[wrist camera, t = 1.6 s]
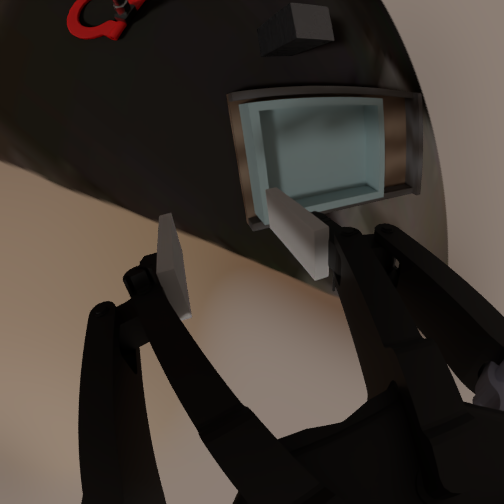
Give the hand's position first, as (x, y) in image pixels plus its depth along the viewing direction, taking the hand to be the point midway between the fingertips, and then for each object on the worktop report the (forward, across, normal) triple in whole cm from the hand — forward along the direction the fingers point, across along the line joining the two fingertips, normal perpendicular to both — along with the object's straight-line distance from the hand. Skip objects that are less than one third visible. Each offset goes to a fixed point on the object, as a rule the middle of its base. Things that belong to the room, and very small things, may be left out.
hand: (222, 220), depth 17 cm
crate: (+16, +15, 0) cm, 22 cm away
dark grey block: (+17, +12, +15) cm, 26 cm away
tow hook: (+17, -8, +24) cm, 31 cm away
